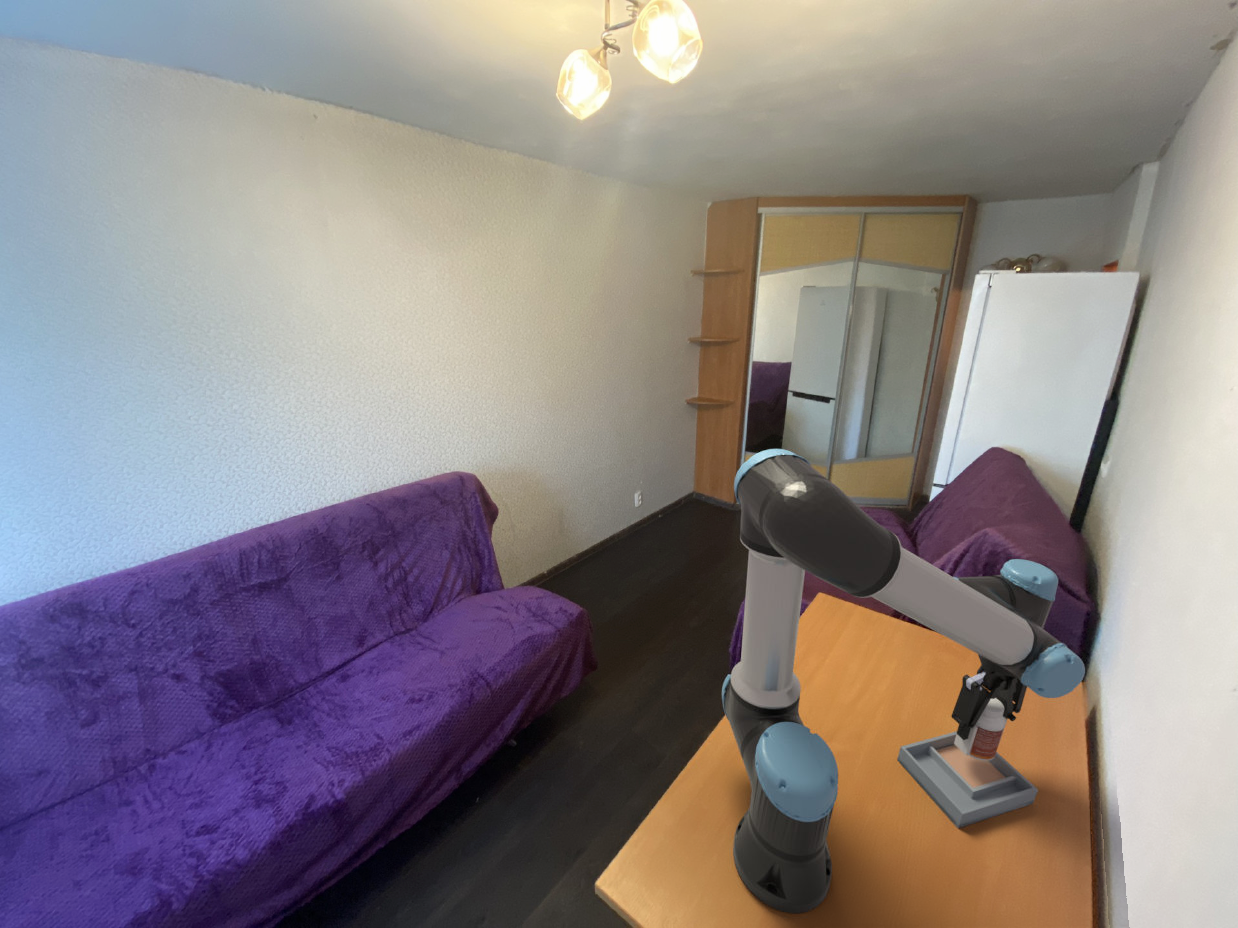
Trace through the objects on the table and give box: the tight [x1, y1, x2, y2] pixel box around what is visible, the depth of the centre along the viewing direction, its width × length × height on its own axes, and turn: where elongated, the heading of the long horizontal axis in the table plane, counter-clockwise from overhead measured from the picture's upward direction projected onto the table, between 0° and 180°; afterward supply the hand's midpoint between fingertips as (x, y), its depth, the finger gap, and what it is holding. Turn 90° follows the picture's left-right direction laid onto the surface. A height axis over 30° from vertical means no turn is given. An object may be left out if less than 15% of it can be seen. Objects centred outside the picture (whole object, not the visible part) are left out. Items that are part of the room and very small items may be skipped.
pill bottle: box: [969, 698, 1006, 761], centre depth 98 cm, size 6×6×11 cm
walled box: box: [896, 730, 1039, 829], centre depth 98 cm, size 17×14×4 cm
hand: (976, 744), depth 99 cm, fingers closed on pill bottle, 6 cm apart
